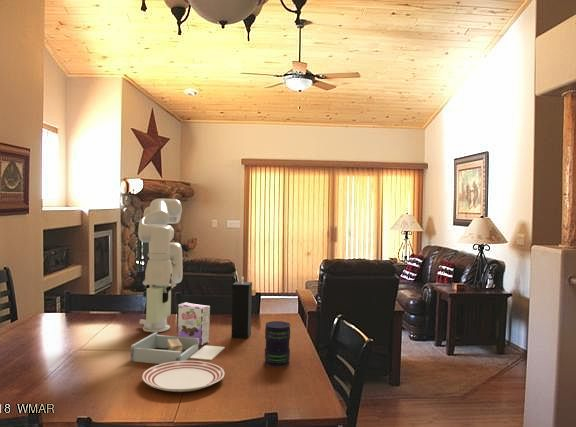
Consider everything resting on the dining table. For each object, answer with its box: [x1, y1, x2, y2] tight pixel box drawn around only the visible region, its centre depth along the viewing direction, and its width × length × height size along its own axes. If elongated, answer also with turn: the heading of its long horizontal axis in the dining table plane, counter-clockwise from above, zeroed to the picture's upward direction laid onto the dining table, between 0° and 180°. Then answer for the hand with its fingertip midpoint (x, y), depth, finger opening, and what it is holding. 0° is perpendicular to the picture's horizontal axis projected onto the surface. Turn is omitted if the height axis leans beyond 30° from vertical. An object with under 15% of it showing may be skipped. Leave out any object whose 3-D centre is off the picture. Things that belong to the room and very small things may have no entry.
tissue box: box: [231, 276, 253, 339], centre depth 206 cm, size 8×8×28 cm
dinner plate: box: [141, 360, 225, 393], centre depth 151 cm, size 28×27×3 cm
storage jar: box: [264, 320, 291, 368], centre depth 171 cm, size 10×10×15 cm
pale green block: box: [145, 284, 172, 323], centre depth 178 cm, size 4×12×13 cm, turn 169°
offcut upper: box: [167, 338, 183, 354], centre depth 176 cm, size 4×10×3 cm, turn 24°
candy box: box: [177, 301, 211, 346], centre depth 196 cm, size 14×6×16 cm, turn 62°
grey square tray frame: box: [130, 332, 200, 365], centre depth 177 cm, size 20×19×6 cm
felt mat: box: [189, 344, 225, 361], centre depth 181 cm, size 9×16×1 cm, turn 169°
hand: (159, 301), depth 178 cm, fingers closed on pale green block, 4 cm apart
